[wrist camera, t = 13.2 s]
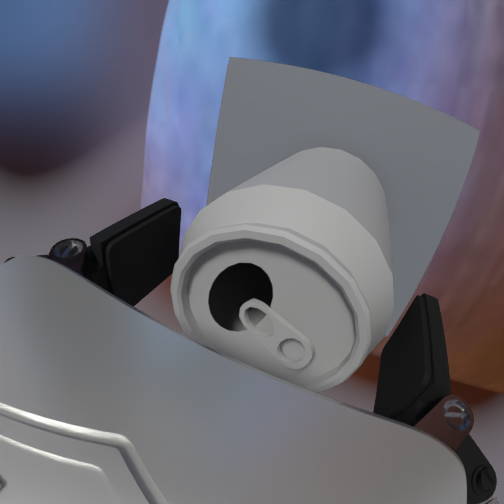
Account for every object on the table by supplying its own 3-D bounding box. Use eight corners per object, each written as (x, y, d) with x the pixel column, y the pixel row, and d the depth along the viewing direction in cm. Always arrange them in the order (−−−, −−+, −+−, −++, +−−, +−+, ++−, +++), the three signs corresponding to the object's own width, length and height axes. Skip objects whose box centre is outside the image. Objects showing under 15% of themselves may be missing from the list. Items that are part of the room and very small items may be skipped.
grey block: (458, 126, 16) (480, 131, 12) (388, 299, 24) (387, 336, 20) (257, 66, 20) (229, 57, 16) (227, 239, 28) (200, 264, 24)
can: (306, 121, 16) (194, 141, 6) (410, 194, 16) (454, 326, 6) (252, 216, 20) (134, 324, 11) (341, 278, 20) (293, 431, 10)
